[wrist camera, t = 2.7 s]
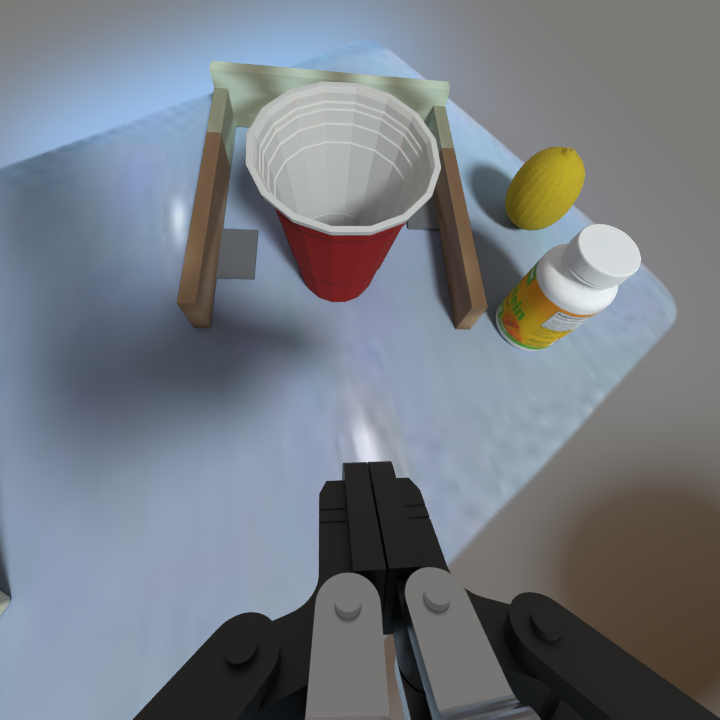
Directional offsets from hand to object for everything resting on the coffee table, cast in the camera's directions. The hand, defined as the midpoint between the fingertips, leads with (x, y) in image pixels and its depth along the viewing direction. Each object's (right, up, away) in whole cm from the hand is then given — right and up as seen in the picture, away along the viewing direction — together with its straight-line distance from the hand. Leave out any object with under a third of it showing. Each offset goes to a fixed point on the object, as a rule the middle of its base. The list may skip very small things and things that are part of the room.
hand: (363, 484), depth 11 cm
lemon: (+15, +17, +24) cm, 33 cm away
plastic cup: (-2, +11, +19) cm, 22 cm away
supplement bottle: (+14, +7, +19) cm, 25 cm away
